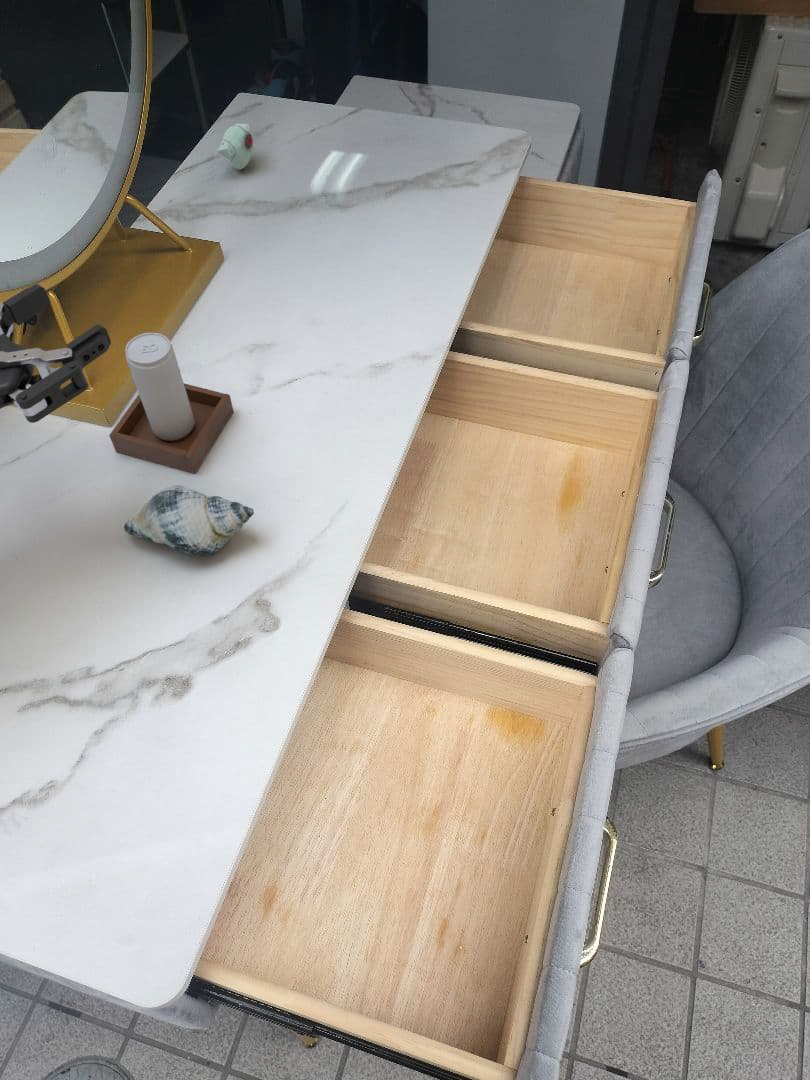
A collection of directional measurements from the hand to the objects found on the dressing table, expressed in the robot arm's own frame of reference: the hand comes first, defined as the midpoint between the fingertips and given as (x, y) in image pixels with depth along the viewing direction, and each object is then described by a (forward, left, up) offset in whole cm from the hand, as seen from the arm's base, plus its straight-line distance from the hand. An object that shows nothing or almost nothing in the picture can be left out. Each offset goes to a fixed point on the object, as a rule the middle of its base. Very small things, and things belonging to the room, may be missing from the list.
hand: (74, 312), depth 74 cm
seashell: (+11, -7, -21) cm, 25 cm away
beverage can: (+2, +5, -20) cm, 21 cm away
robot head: (-13, +57, -21) cm, 62 cm away
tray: (+2, +6, -21) cm, 22 cm away
